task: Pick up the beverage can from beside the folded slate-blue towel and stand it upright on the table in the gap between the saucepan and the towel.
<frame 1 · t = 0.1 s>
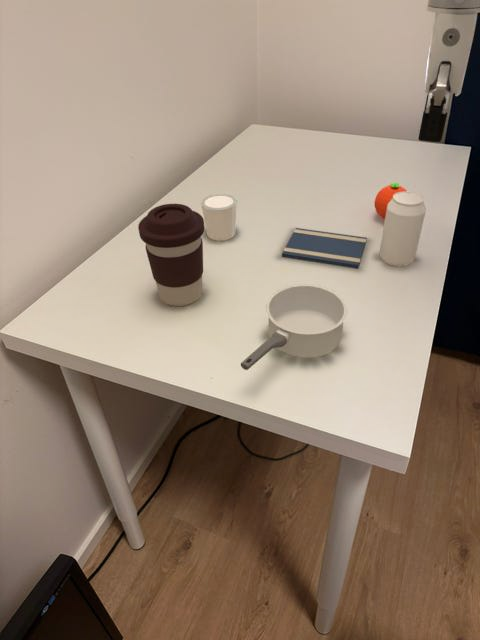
hand: (431, 129, 74), 22 cm above the table, tool pointing down, fingers open, 9 cm apart
white candle: (221, 234, 97), on the table
towel: (324, 248, 91), on the table
coffee cup: (181, 295, 82), on the table
beverage can: (396, 260, 87), on the table
clementine: (389, 217, 100), on the table
saucepan: (288, 353, 70), on the table
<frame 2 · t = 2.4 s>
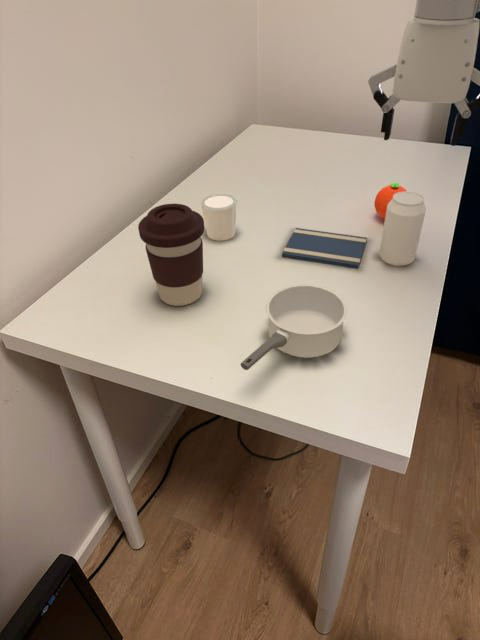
hand: (419, 139, 74), 21 cm above the table, tool pointing down, fingers open, 9 cm apart
nothing on the table moved.
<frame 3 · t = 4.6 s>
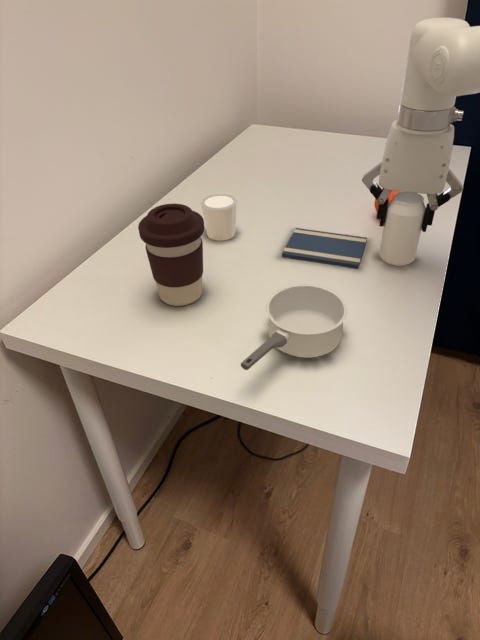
hand: (403, 224, 83), 7 cm above the table, tool pointing down, fingers closed on beverage can, 6 cm apart
beverage can: (396, 260, 87), on the table, touching gripper
everything else where it was.
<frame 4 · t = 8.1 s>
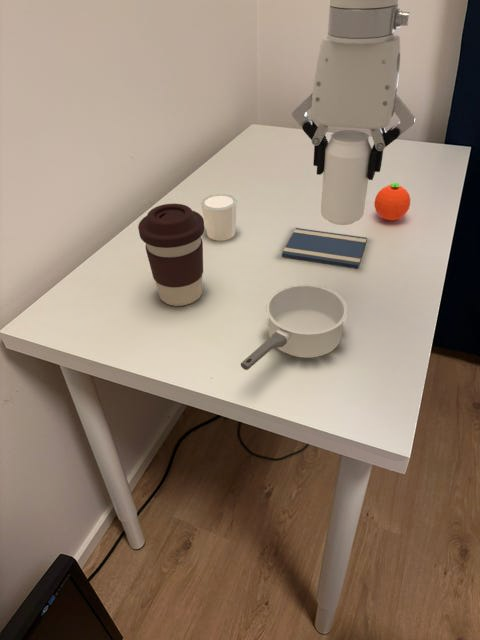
hand: (346, 172, 67), 21 cm above the table, tool pointing down, fingers closed on beverage can, 6 cm apart
beverage can: (341, 219, 72), point 13 cm above the table, touching gripper
everything else where it was.
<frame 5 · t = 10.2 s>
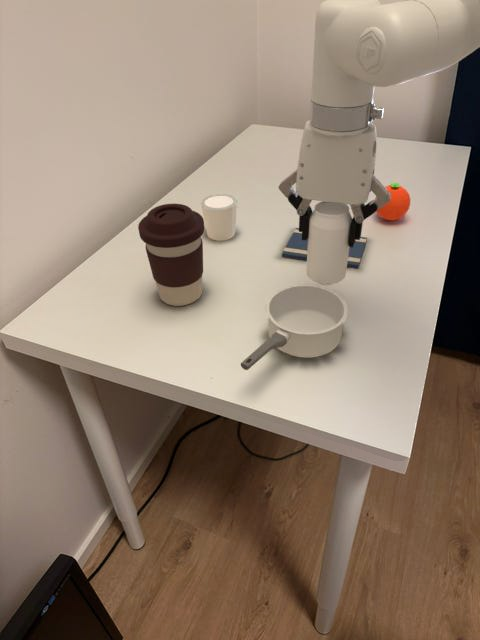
hand: (329, 238, 72), 11 cm above the table, tool pointing down, fingers closed on beverage can, 6 cm apart
beverage can: (325, 278, 77), point 4 cm above the table, touching gripper
everything else where it was.
when the fingers open (7 cm above the table, at t = 11.8 s): beverage can stays where it is, on the table.
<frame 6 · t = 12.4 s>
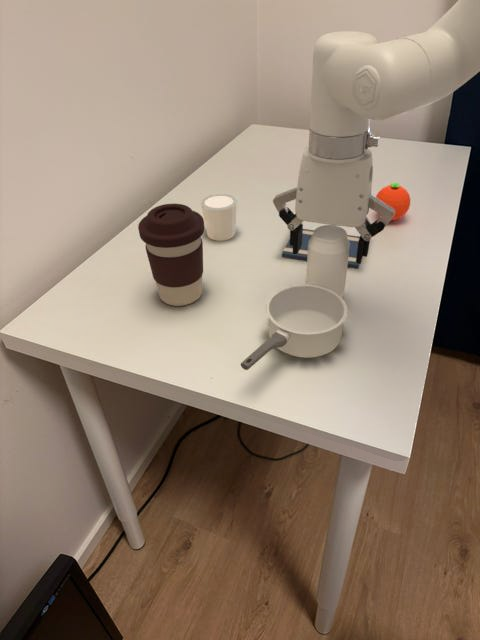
hand: (327, 254, 74), 8 cm above the table, tool pointing down, fingers open, 9 cm apart
beverage can: (324, 298, 79), on the table
everything else where it was.
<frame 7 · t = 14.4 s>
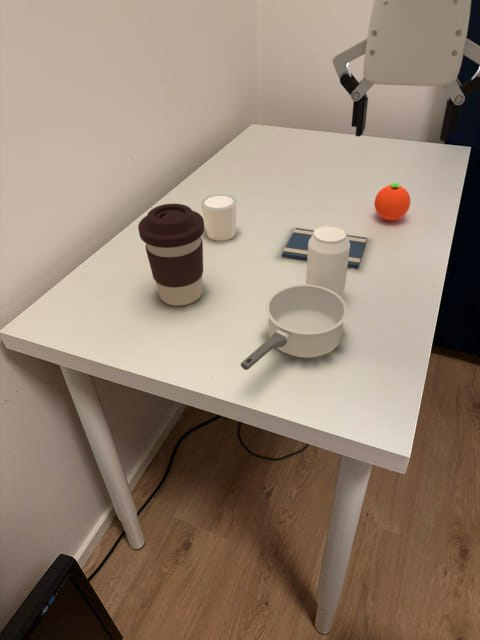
hand: (400, 135, 58), 28 cm above the table, tool pointing down, fingers open, 9 cm apart
nothing on the table moved.
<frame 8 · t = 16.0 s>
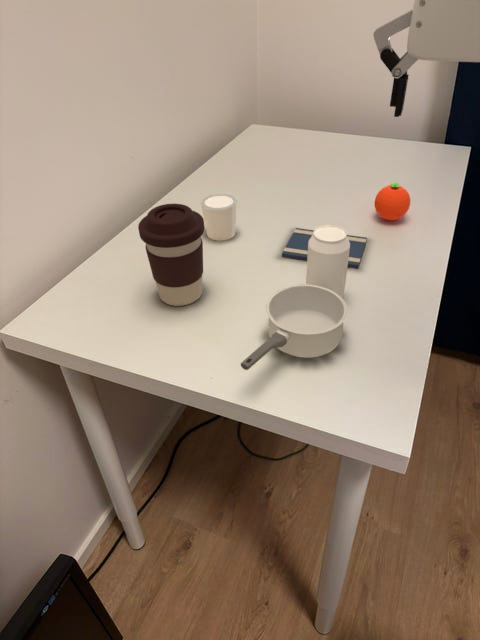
hand: (442, 116, 55), 30 cm above the table, tool pointing down, fingers open, 9 cm apart
nothing on the table moved.
at the end: beverage can inside the target area on the table beside the towel (0.7 cm from its centre), on the table; beverage can 14.6 cm from the saucepan (horizontally); beverage can tilted 0° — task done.
